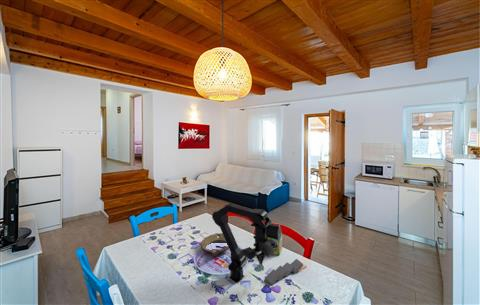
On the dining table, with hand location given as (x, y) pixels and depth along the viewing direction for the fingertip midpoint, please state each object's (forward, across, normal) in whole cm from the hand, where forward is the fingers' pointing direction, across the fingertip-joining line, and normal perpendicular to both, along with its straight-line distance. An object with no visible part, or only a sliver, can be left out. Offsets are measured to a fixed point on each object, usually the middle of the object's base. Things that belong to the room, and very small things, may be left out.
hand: (260, 264), depth 106 cm
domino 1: (+11, +5, 0) cm, 12 cm away
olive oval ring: (+12, -4, +45) cm, 47 cm away
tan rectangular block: (+12, +25, -1) cm, 28 cm away
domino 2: (+11, +10, 0) cm, 15 cm away
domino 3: (+11, +16, 0) cm, 19 cm away
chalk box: (+12, +29, +21) cm, 37 cm away
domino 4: (+11, +22, -1) cm, 25 cm away
